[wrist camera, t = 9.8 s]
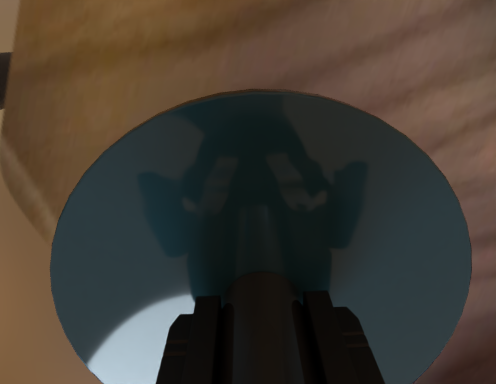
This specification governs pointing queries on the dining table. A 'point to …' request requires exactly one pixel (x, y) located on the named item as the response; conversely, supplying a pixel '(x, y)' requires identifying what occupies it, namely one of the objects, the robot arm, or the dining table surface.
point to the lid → (260, 239)
